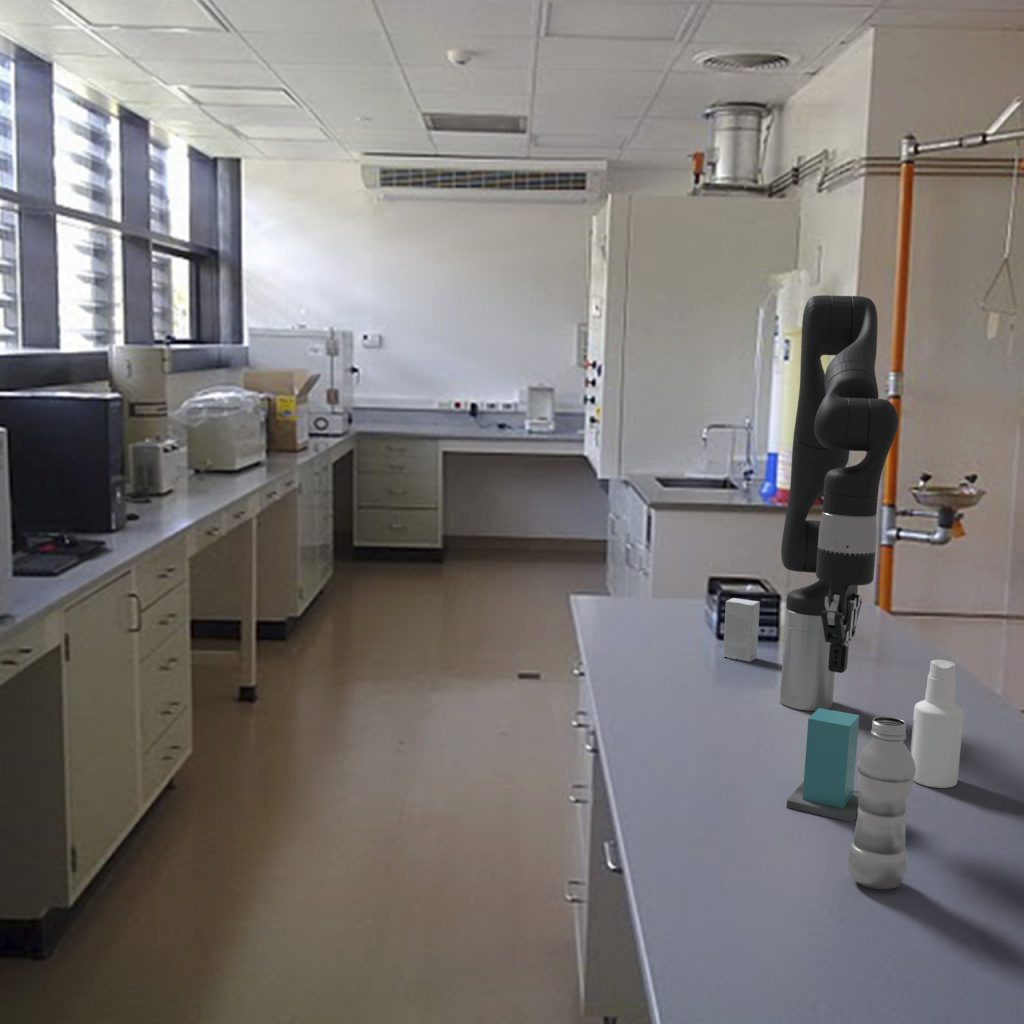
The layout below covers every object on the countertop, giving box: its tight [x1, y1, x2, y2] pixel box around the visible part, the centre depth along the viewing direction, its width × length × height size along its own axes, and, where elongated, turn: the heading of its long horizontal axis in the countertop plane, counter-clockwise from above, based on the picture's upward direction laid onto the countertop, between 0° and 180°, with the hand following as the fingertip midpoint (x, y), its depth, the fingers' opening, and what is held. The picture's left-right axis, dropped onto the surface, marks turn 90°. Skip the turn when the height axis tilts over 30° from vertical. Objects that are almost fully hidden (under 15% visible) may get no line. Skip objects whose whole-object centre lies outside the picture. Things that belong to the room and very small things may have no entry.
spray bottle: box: [909, 659, 964, 789], centre depth 165 cm, size 7×7×18 cm
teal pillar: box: [803, 708, 860, 808], centre depth 155 cm, size 6×6×12 cm
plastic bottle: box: [847, 716, 916, 890], centre depth 131 cm, size 6×7×20 cm
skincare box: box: [722, 597, 761, 663], centre depth 230 cm, size 6×4×12 cm
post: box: [786, 780, 859, 823], centre depth 156 cm, size 9×9×8 cm
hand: (837, 670), depth 153 cm, fingers closed
